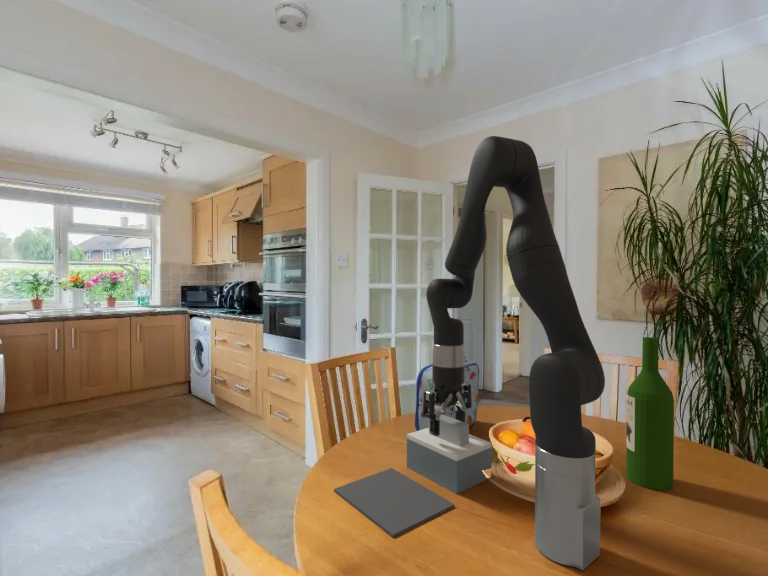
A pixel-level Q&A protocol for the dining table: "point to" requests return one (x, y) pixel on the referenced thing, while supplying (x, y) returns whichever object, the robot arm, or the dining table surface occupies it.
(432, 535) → the dining table surface
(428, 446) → the lid
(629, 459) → the wine bottle
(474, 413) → the lunch box
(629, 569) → the dining table surface
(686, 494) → the dining table surface
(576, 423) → the robot arm
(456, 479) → the storage box
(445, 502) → the mat
